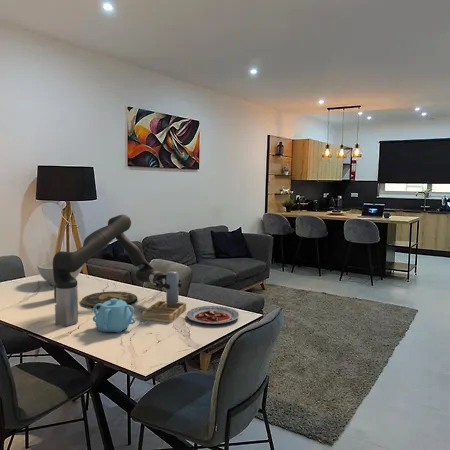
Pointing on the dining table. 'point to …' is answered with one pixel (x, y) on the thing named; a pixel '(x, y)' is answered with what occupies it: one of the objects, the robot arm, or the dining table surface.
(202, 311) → the ceramic plate
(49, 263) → the decorative bowl
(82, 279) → the dining table surface
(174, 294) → the pale blue cylinder
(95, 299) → the decorative plate
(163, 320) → the wooden compartment tray
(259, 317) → the dining table surface
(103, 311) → the decorative pot
